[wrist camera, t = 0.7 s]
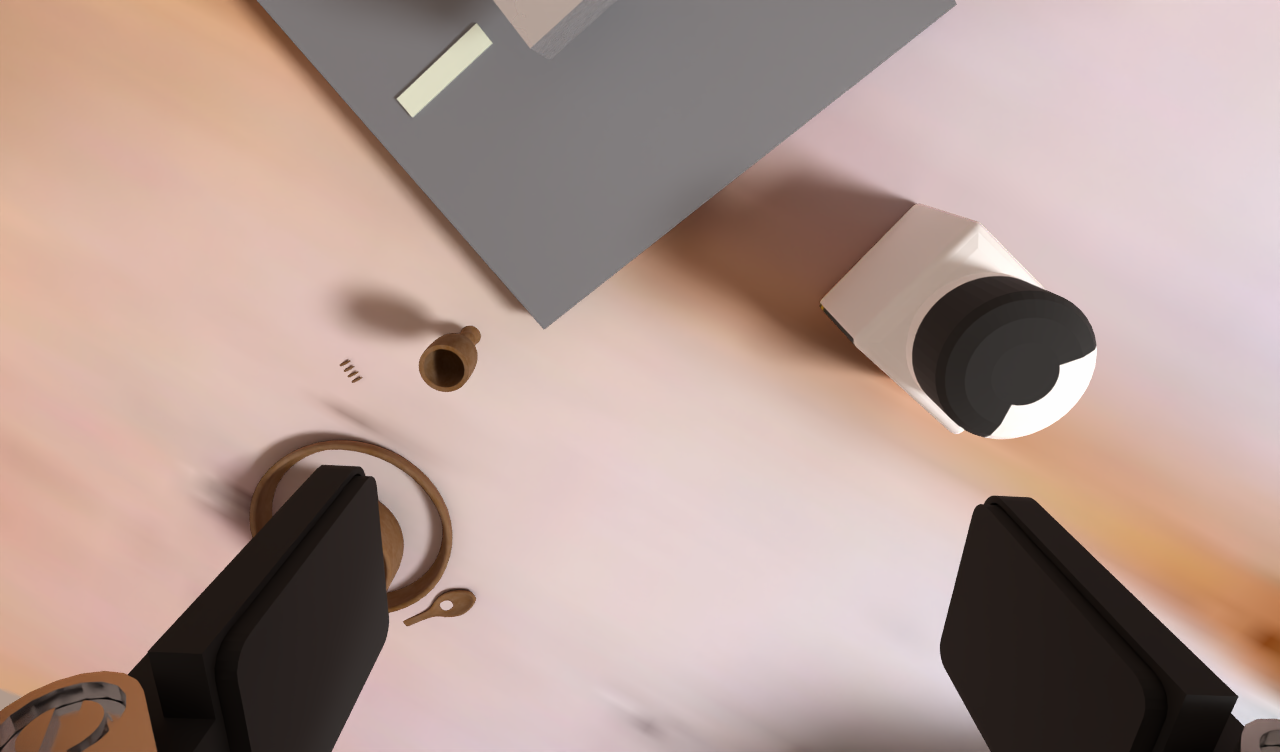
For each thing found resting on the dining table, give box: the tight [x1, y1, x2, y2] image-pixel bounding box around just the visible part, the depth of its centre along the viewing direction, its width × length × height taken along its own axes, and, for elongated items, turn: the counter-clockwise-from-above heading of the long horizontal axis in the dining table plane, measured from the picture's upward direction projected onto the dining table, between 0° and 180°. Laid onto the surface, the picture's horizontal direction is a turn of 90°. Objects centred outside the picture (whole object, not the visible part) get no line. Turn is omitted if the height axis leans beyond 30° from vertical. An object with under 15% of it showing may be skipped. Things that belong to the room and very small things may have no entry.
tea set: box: [249, 326, 481, 626], centre depth 39 cm, size 18×20×6 cm
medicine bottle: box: [820, 204, 1096, 439], centre depth 31 cm, size 7×7×12 cm
